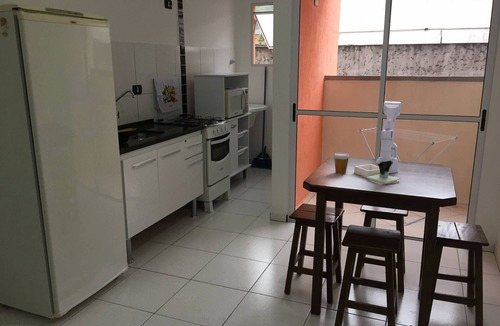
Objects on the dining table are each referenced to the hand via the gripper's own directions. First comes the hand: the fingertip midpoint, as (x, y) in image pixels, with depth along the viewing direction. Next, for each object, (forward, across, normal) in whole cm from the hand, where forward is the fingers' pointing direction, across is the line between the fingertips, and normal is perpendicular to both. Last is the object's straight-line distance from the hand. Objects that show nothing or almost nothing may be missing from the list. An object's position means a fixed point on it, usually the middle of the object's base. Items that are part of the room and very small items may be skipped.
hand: (384, 173), depth 240 cm
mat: (+4, 0, 0) cm, 4 cm away
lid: (+3, 0, 0) cm, 3 cm away
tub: (+4, -5, -14) cm, 16 cm away
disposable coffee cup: (+5, +6, -27) cm, 28 cm away
